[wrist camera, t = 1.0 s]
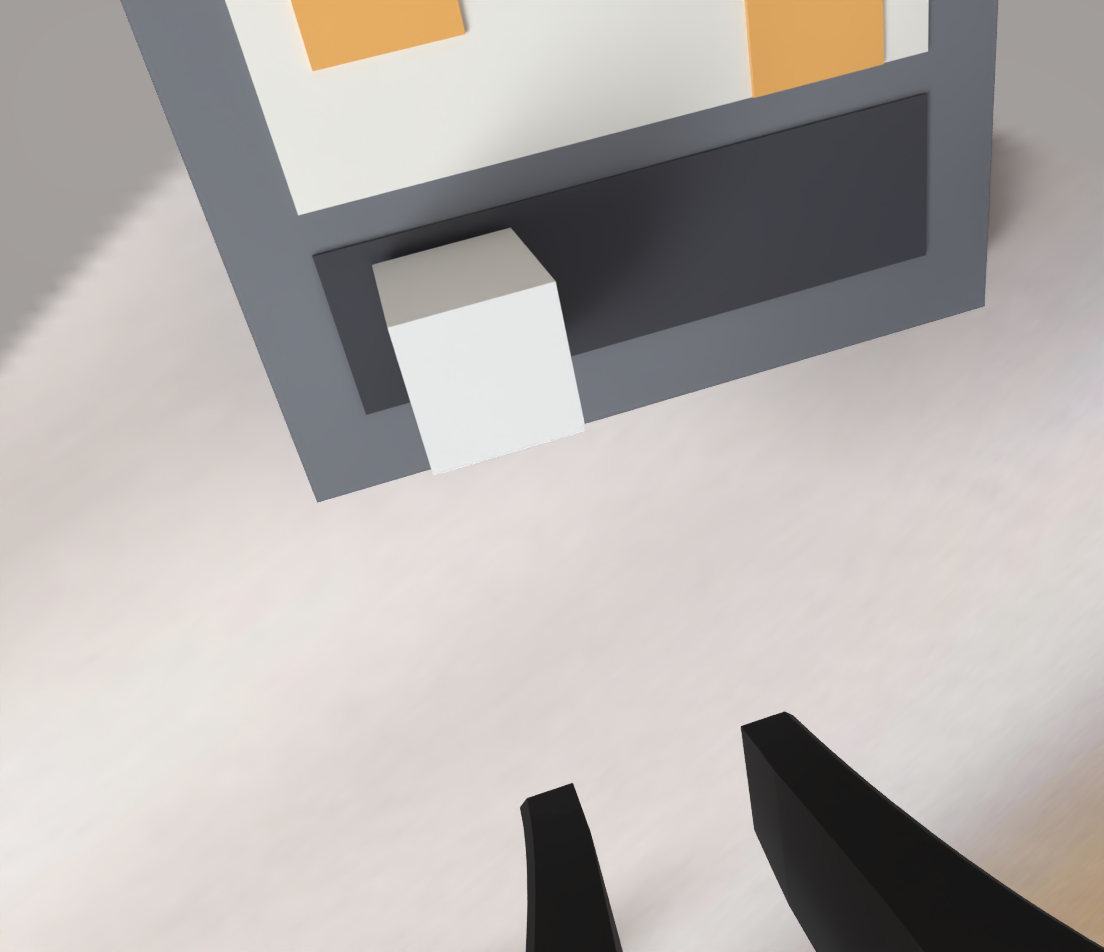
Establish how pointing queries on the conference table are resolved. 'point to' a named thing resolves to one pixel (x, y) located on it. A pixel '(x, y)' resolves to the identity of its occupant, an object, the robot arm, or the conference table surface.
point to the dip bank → (579, 181)
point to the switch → (480, 349)
